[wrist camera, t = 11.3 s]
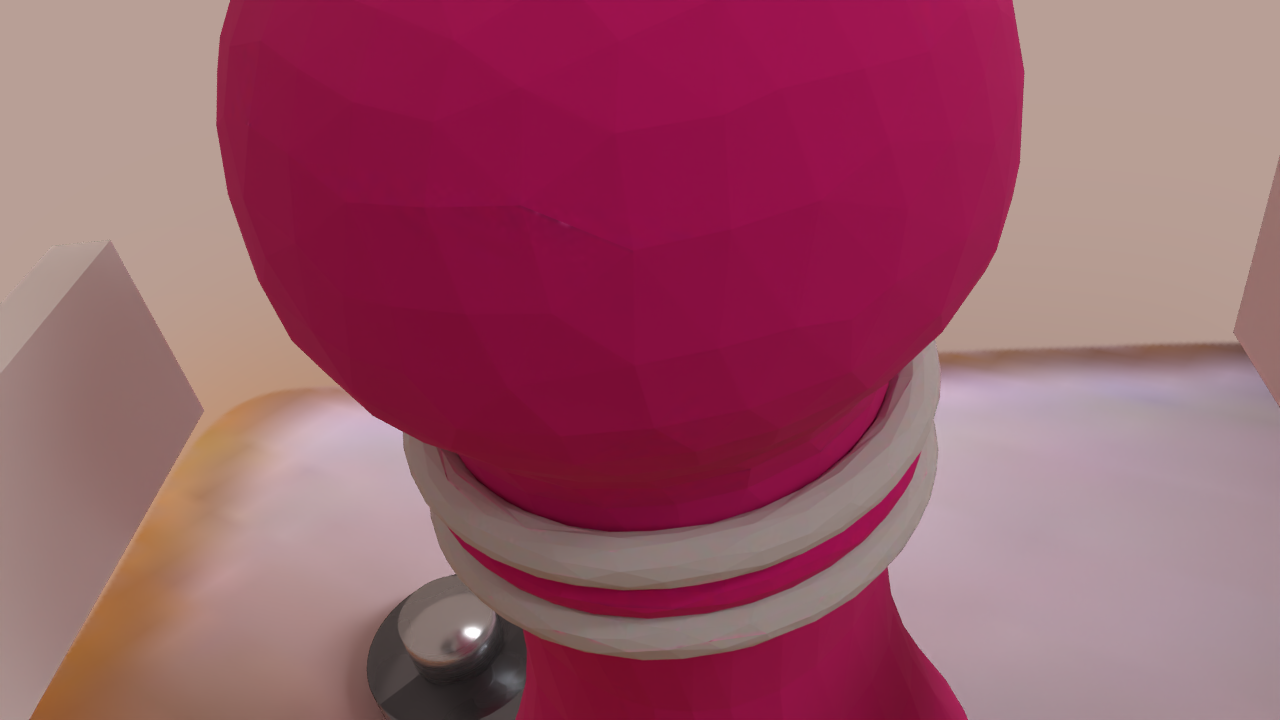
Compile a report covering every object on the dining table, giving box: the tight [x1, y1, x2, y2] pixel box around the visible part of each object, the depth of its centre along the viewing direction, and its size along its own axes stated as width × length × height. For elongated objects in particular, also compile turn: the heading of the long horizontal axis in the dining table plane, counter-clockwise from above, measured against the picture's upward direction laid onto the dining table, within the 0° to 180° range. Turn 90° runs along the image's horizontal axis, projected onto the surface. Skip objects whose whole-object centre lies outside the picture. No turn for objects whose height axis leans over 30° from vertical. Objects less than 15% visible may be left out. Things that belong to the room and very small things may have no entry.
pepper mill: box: [216, 0, 1024, 720], centre depth 12 cm, size 7×7×20 cm
